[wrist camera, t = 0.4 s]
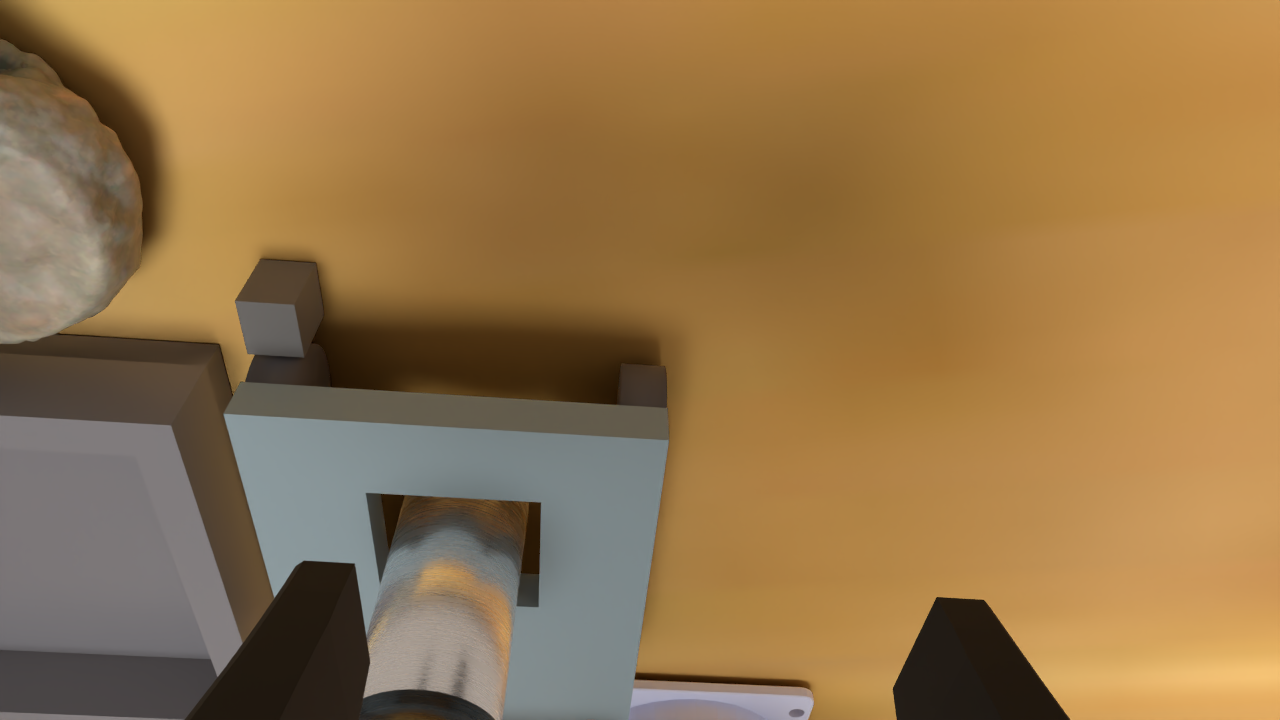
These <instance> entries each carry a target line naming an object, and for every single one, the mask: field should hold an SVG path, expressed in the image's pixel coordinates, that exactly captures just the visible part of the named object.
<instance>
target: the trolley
mask: <svg viewBox="0 0 1280 720" xmlns="http://www.w3.org/2000/svg"><path fill="white" fill-rule="evenodd" d="M235 303H236V307H237V312H238V316H239V320H240V324H241V328H242V332H243V337H244V341H245V345H246V349H247V353H248V354H254V355H255V356H254V358H253V360H252V362H251V365H250V368H249V371H248V374H247V378H246V382H240V384H239V386H238V388H237V389H236V391H235V393H234V395H233V397H232V399H231V401H230V402H229V404H228V406H227V408H226V410H225V412H224V418H225V421H226V425H227V429H228V432H229V436H230V440H231V443H232V447H233V450H234V454H235V458H236V461H237V465H238V468H239V472H240V476H241V479H242V483H243V487H244V490H245V494H246V497H247V501H248V505H249V508H250V512H251V516H252V519H253V523H254V526H255V530H256V534H257V537H258V541H259V544H260V548H261V552H262V555H263V559H264V563H265V566H266V570H267V573H268V577H269V581H270V584H271V588H272V592H273V595H274V598H275V597H276V595H277V594H278V592H279V591H280V589H281V588H282V586H283V585H284V583H285V582H286V580H287V579H288V577H289V575H290V574H291V572H292V571H293V569H294V568H295V566H296V565H298V564H299V563H301V562H302V561H304V560H305V561H322V562H339V563H355V567H356V573H357V580H358V586H359V592H360V599H361V605H362V611H363V618H364V624H365V631H366V636H367V632H368V629H369V625H370V621H371V618H372V614H373V610H374V606H375V603H376V599H377V595H378V592H379V588H380V584H381V581H382V577H383V573H384V570H385V566H386V562H387V559H388V555H389V549H388V542H387V535H386V528H385V520H384V513H383V506H382V499H381V494H397V495H415V496H433V497H451V498H469V499H487V500H505V501H524V502H541V531H540V573H539V574H524V573H521V574H520V582H519V590H518V598H517V606H516V615H515V623H514V631H513V639H512V647H511V655H510V663H509V671H508V679H507V687H506V695H505V703H504V711H503V719H502V720H629V713H630V706H631V699H632V692H633V685H634V678H635V672H636V665H637V658H638V651H639V644H640V637H641V630H642V623H643V617H644V610H645V603H646V596H647V589H648V582H649V575H650V568H651V561H652V555H653V548H654V541H655V534H656V527H657V520H658V513H659V506H660V499H661V493H662V486H663V479H664V472H665V465H666V458H667V451H668V444H669V426H668V408H667V378H666V369H665V366H655V365H640V364H624V363H621V367H620V374H619V384H618V395H617V405H610V404H594V403H577V402H561V401H545V400H529V399H512V398H496V397H480V396H464V395H447V394H431V393H415V392H399V391H382V390H366V389H350V388H333V387H331V380H330V371H329V365H328V361H327V357H326V354H325V352H324V350H323V348H322V347H321V346H320V345H318V344H312V343H311V342H312V340H313V338H314V336H315V333H316V331H317V329H318V327H319V325H320V323H321V321H322V318H323V316H324V309H323V303H322V297H321V291H320V285H319V279H318V273H317V267H316V263H308V262H293V261H279V260H264V259H260V261H259V262H258V264H257V266H256V267H255V269H254V271H253V272H252V274H251V275H250V277H249V279H248V280H247V282H246V284H245V285H244V287H243V289H242V290H241V292H240V293H239V295H238V297H237V298H236V300H235Z"/></svg>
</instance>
